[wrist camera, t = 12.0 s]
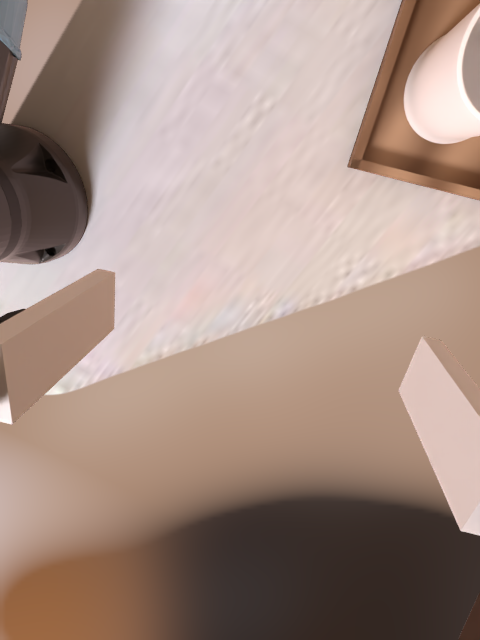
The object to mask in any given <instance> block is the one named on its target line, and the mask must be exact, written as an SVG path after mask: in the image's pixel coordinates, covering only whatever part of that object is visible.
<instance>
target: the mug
mask: <svg viewBox="0 0 480 640" xmlns="http://www.w3.org/2000/svg"><path fill="white" fill-rule="evenodd" d="M404 110H405V114H406V117H407V120H408V122H409V124H410V126H411V127H412V128H413V130H414V131H415V132H416V133H417V134H418V135H419V136H421V137H422V138H424V139H426V140H428V141H430V142H434V143H439V144H451V143H457V142H461V141H464V140H466V139H469V138H471V137H476V136H480V4H479V5H478V6H476V7H475V8H474V9H473V10H472V11H471V12H470V13H469V14H468V15H467V16H466V17H465V18H463V19H462V20H461V21H460V22H459V23H458V24H457V25H456V26H455V27H454V28H453V29H452V30H450V31H449V32H448V33H447V34H446V35H444V36H442V37H440V38H439V39H437V40H436V41H435V42H433V43H432V44H431V45H430V46H429V47H428V48H427V49H426V50H425V51H424V52H423V53H422V54H421V55H420V57H419V58H418V59H417V61H416V62H415V64H414V66H413V67H412V69H411V71H410V74H409V76H408V79H407V82H406V85H405V90H404Z"/></svg>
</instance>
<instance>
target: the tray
mask: <svg viewBox="0 0 480 640" xmlns="http://www.w3.org/2000/svg"><path fill="white" fill-rule="evenodd" d="M479 4H480V0H402V2H401V5H400V8H399V11H398V14H397V17H396V20H395V24H394V27H393V30H392V33H391V36H390V39H389V42H388V45H387V48H386V51H385V54H384V57H383V60H382V63H381V66H380V69H379V72H378V75H377V78H376V81H375V84H374V87H373V90H372V93H371V96H370V99H369V102H368V105H367V108H366V111H365V114H364V117H363V120H362V124H361V127H360V130H359V133H358V136H357V139H356V142H355V145H354V148H353V151H352V154H351V157H350V160H349V163H348V166H347V167H350V168H354V169H358V170H362V171H366V172H370V173H374V174H378V175H382V176H385V177H389V178H393V179H397V180H401V181H405V182H409V183H413V184H417V185H421V186H425V187H429V188H433V189H437V190H441V191H445V192H449V193H452V194H456V195H460V196H464V197H468V198H472V199H476V200H480V136H476V137H471V138H469V139H466V140H464V141H461V142H457V143H451V144H439V143H434V142H430V141H428V140H426V139H424V138H422V137H421V136H419V135H418V134H417V133H416V132H415V131H414V130H413V128H412V127H411V126H410V124H409V122H408V120H407V117H406V114H405V110H404V90H405V85H406V82H407V79H408V76H409V74H410V71H411V69H412V67H413V66H414V64H415V62H416V61H417V59H418V58H419V57H420V55H421V54H422V53H423V52H424V51H425V50H426V49H427V48H428V47H429V46H430V45H431V44H432V43H433V42H435V41H436V40H437V39H439V38H440V37H442V36H444V35H446V34H447V33H448V32H449V31H450V30H452V29H453V28H454V27H455V26H456V25H457V24H458V23H459V22H460V21H461V20H462V19H463V18H465V17H466V16H467V15H468V14H469V13H470V12H471V11H472V10H473V9H474V8H475V7H476V6H478V5H479Z"/></svg>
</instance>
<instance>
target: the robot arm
mask: <svg viewBox="0 0 480 640" xmlns="http://www.w3.org/2000/svg"><path fill="white" fill-rule="evenodd" d="M26 11H27V0H0V262H7V263H20V264H40V263H45V262H49V261H52V260H54V259H57V258H60V257H62V256H64V255H66V254H67V253H69V252H70V251H71V250H72V249H73V248H74V247H75V246H76V245H77V244H78V242H79V241H80V239H81V237H82V235H83V233H84V230H85V227H86V222H87V198H86V193H85V189H84V186H83V183H82V180H81V178H80V175H79V173H78V171H77V169H76V168H75V166H74V164H73V163H72V161H71V160H70V158H69V157H68V156H67V154H66V153H65V152H64V151H63V150H62V149H61V148H60V147H59V146H58V145H57V144H56V143H55V142H54V141H53V140H51V139H50V138H49V137H47V136H46V135H44V134H42V133H40V132H38V131H36V130H34V129H31V128H28V127H25V126H20V125H12V124H4V123H2V119H3V115H4V111H5V107H6V103H7V100H8V96H9V92H10V88H11V84H12V80H13V76H14V72H15V68H16V65H17V61H18V60H21V51H20V42H21V37H22V32H23V27H24V21H25V16H26ZM114 307H115V272H111V271H106V270H101V269H97V270H95V271H93V272H92V273H90V274H88V275H86V276H84V277H83V278H81V279H79V280H77V281H76V282H74V283H72V284H70V285H68V286H67V287H65V288H63V289H61V290H59V291H58V292H56V293H54V294H52V295H51V296H49V297H47V298H45V299H43V300H42V301H40V302H38V303H36V304H34V305H33V306H31V307H29V308H27V309H21V310H17V311H14V312H10V313H7V314H5V315H4V316H2V317H0V422H4V423H8V424H13V423H14V422H16V421H17V420H18V419H19V418H20V417H21V416H22V415H23V414H24V413H25V412H26V411H27V410H28V409H29V408H30V407H32V406H33V404H35V403H36V402H37V401H38V400H39V399H40V398H41V397H42V396H43V395H44V394H45V393H46V392H47V391H49V390H50V389H51V388H52V387H53V386H54V385H55V384H56V383H57V382H58V381H59V380H60V379H61V378H62V377H63V376H64V375H66V374H67V373H68V372H69V371H70V370H71V369H72V368H73V367H74V366H75V365H76V364H77V363H78V362H79V361H80V360H81V359H83V358H84V357H85V356H86V355H87V354H88V353H89V352H90V351H91V350H92V349H93V348H94V347H95V346H96V345H97V344H98V343H100V342H101V341H102V340H103V339H104V338H105V337H106V336H107V335H108V334H109V333H110V332H111V331H112V330H113V329H114ZM399 393H400V395H401V397H402V400H403V402H404V404H405V406H406V409H407V411H408V413H409V415H410V418H411V420H412V422H413V424H414V427H415V429H416V431H417V433H418V436H419V438H420V440H421V443H422V445H423V447H424V449H425V451H426V454H427V456H428V458H429V460H430V463H431V465H432V467H433V469H434V472H435V474H436V476H437V479H438V481H439V483H440V485H441V488H442V490H443V492H444V494H445V497H446V499H447V501H448V503H449V505H450V508H451V510H452V512H453V514H454V517H455V519H456V521H457V524H458V526H459V528H460V530H461V531H464V532H468V533H472V534H476V535H480V388H479V387H478V386H477V385H476V383H475V382H474V381H473V380H472V378H471V377H470V376H469V375H468V373H467V372H466V371H465V370H464V368H463V367H462V366H461V365H460V363H459V362H458V361H457V360H456V358H455V357H454V356H453V355H452V354H451V352H450V351H449V350H448V348H447V347H446V346H445V345H444V343H443V342H442V341H441V340H438V339H433V338H429V337H424V336H422V338H421V340H420V342H419V344H418V346H417V349H416V351H415V354H414V356H413V358H412V360H411V363H410V365H409V367H408V370H407V372H406V374H405V377H404V379H403V381H402V383H401V386H400V388H399ZM458 640H480V592H479V594H478V597H477V599H476V601H475V603H474V605H473V608H472V610H471V612H470V614H469V616H468V619H467V621H466V623H465V625H464V627H463V630H462V632H461V634H460V636H459V639H458Z"/></svg>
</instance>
